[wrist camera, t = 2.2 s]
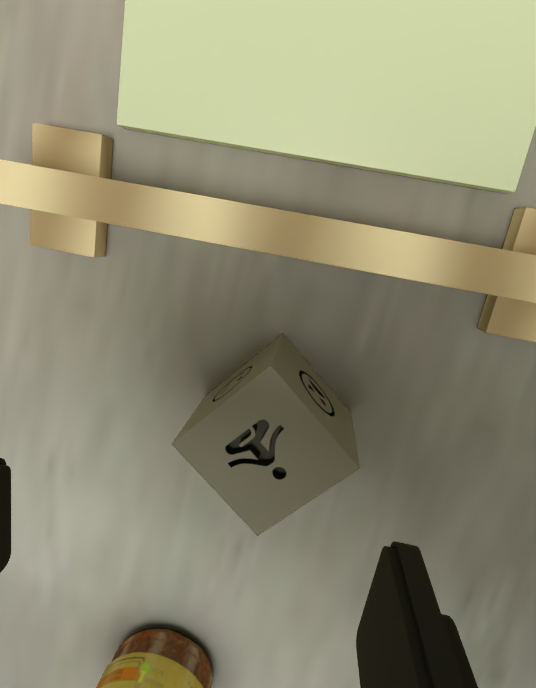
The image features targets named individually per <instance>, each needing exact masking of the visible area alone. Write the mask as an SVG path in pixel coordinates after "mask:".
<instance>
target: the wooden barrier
mask: <svg viewBox="0 0 536 688" xmlns="http://www.w3.org/2000/svg"><path fill="white" fill-rule="evenodd" d="M112 150H113V139H111V138H108V137H106V136H104V135H101V134H96V133H90V132H84V131H78V130H72V129H67V128H61V127H55V126H49V125H43V124H37V123H33V134H32V165H28V164H22V163H17V162H11V161H5V160H0V203H1V204H7V205H12V206H17V207H23V208H28V209H31V226H30V245H33V246H38V247H43V248H49V249H54V250H59V251H64V252H69V253H75V254H80V255H85V256H90V257H101V256H105V251H106V237H107V223H109V224H114V225H119V226H125V227H130V228H135V229H141V230H146V231H152V232H157V233H162V234H168V235H173V236H178V237H184V238H189V239H194V240H200V241H205V242H211V243H216V244H221V245H227V246H232V247H237V248H243V249H248V250H253V251H259V252H264V253H270V254H275V255H280V256H286V257H291V258H296V259H302V260H307V261H312V262H318V263H323V264H329V265H334V266H339V267H345V268H350V269H355V270H361V271H366V272H372V273H377V274H382V275H388V276H393V277H398V278H404V279H409V280H414V281H420V282H425V283H431V284H436V285H441V286H447V287H452V288H457V289H463V290H468V291H473V292H479V293H484V294H488V295H487V298H486V302H485V305H484V308H483V311H482V314H481V317H480V320H479V324H478V327H477V328H479V329H481V330H482V331H484V332H485V333H490V334H495V335H500V336H506V337H511V338H516V339H521V340H526V341H532V342H536V209H533V208H527V207H525V208H517V209H515V210H514V213H513V216H512V219H511V223H510V226H509V229H508V232H507V235H506V238H505V242H504V245H503V248H502V249H498V248H492V247H486V246H481V245H475V244H470V243H464V242H458V241H453V240H447V239H442V238H436V237H430V236H425V235H419V234H414V233H408V232H403V231H397V230H391V229H386V228H380V227H375V226H369V225H363V224H358V223H352V222H347V221H341V220H335V219H330V218H324V217H319V216H313V215H307V214H302V213H296V212H291V211H285V210H280V209H274V208H268V207H263V206H257V205H252V204H246V203H240V202H235V201H229V200H224V199H218V198H212V197H207V196H201V195H196V194H190V193H184V192H179V191H173V190H168V189H162V188H156V187H151V186H145V185H140V184H134V183H129V182H123V181H117V180H112V179H111V165H112Z"/></svg>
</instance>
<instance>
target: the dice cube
mask: <svg viewBox="0 0 536 688" xmlns="http://www.w3.org/2000/svg"><path fill="white" fill-rule="evenodd" d="M172 445H173V446H174V447H175V448H176V449H177V450H178V451H179V452H180V454H181V455H182V456H183V457H184V458H185V459H186V460H187V461H188V462H189V463H190V464H191V465H192V466H193V467H194V469H195V470H196V471H197V472H198V473H199V474H200V475H201V476H202V477H203V478H204V479H205V480H206V481H207V482H208V483H209V485H210V486H211V487H212V488H213V489H214V490H215V491H216V492H217V493H218V494H219V495H220V496H221V497H222V498H223V500H224V501H225V502H226V503H227V504H228V505H229V506H230V507H231V508H232V509H233V510H234V511H235V512H236V513H237V515H238V516H239V517H240V518H241V519H242V520H243V521H244V522H245V523H246V524H247V525H248V526H249V527H250V528H251V530H252V531H253V532H254V533H255V534H256V535H257V536H258V535H260V534H261V533H263V532H264V531H266V530H267V529H269V528H270V527H272V526H273V525H275V524H276V523H278V522H279V521H281V520H282V519H284V518H285V517H287V516H288V515H290V514H291V513H293V512H294V511H296V510H297V509H299V508H300V507H302V506H303V505H305V504H306V503H308V502H309V501H311V500H312V499H314V498H315V497H317V496H318V495H320V494H321V493H323V492H324V491H326V490H327V489H329V488H330V487H332V486H333V485H335V484H336V483H338V482H339V481H341V480H342V479H344V478H345V477H347V476H348V475H350V474H351V473H353V472H354V471H356V470H357V469H359V468H360V467H359V461H358V454H357V448H356V442H355V436H354V430H353V424H352V418H351V412H350V411H349V410H348V409H347V408H346V407H345V405H344V404H343V403H342V402H341V401H340V400H339V398H338V397H337V396H336V395H335V394H334V392H333V391H332V390H331V389H330V388H329V387H328V385H327V384H326V383H325V382H324V381H323V380H322V378H321V377H320V376H319V375H318V374H317V373H316V371H315V370H314V369H313V368H312V367H311V366H310V364H309V363H308V362H307V361H306V360H305V359H304V357H303V356H302V355H301V354H300V353H299V352H298V350H297V349H296V348H295V347H294V346H293V345H292V343H291V342H290V341H289V340H288V339H287V338H286V336H285V335H284V334H283V333H282V334H281V335H280V336H279V337H278V338H276V339H275V340H274V341H273V342H271V343H270V344H269V345H268V346H266V347H265V348H264V349H263V350H262V351H260V352H259V353H258V354H257V355H255V356H254V357H253V358H252V359H250V360H249V361H248V362H247V363H245V364H244V365H243V366H242V367H241V368H239V369H238V370H237V371H236V372H234V373H233V374H232V375H231V376H229V377H228V378H227V379H226V380H225V381H223V382H222V383H221V384H220V385H218V386H217V387H216V388H215V389H213V390H212V391H211V392H210V393H208V394H207V395H206V396H205V397H204V399H203V400H202V402H201V403H200V404H199V406H198V407H197V409H196V410H195V412H194V413H193V414H192V416H191V417H190V419H189V420H188V422H187V423H186V424H185V426H184V427H183V429H182V430H181V432H180V433H179V434H178V436H177V437H176V439H175V440H174V441H173V443H172Z"/></svg>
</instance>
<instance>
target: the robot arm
mask: <svg viewBox="0 0 536 688" xmlns="http://www.w3.org/2000/svg"><path fill="white" fill-rule="evenodd" d="M10 555H11V469H10V467H9V466H6V462H5V460H4V459H2V458H0V572H1V571H2V570H3V569H4V568H5V566H6V565H7V563H8V561H9V558H10ZM356 648H357V658H358V667H359V677H360V686H361V688H478V687H477V684H476V681H475V678H474V675H473V673H472V670H471V667H470V664H469V661H468V659H467V656H466V653H465V650H464V647H463V645H462V642H461V639H460V636H459V633H458V631H457V628H456V626H455V623H454V621H453V620H452V618H451V617H450V616H447V615H442V614H441V612H440V609H439V606H438V603H437V600H436V597H435V594H434V591H433V588H432V585H431V582H430V579H429V576H428V573H427V570H426V567H425V564H424V561H423V558H422V555H421V552H420V550H419V548H418V547H417V546H414V545H409V544H404V543H399V542H392V544H391V546H390V547H387V546H384V547H383V549H382V552H381V555H380V558H379V562H378V565H377V568H376V571H375V575H374V578H373V581H372V584H371V588H370V591H369V594H368V597H367V601H366V604H365V607H364V611H363V614H362V617H361V620H360V624H359V627H358V631H357V639H356Z"/></svg>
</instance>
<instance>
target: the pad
mask: <svg viewBox="0 0 536 688" xmlns="http://www.w3.org/2000/svg"><path fill="white" fill-rule="evenodd" d="M117 125H119V126H121V127H123V128H124V129H129V130H135V131H140V132H146V133H152V134H158V135H164V136H170V137H176V138H182V139H187V140H193V141H199V142H205V143H211V144H217V145H223V146H229V147H235V148H240V149H246V150H252V151H258V152H264V153H270V154H276V155H282V156H288V157H293V158H299V159H305V160H311V161H317V162H323V163H329V164H335V165H341V166H346V167H352V168H358V169H364V170H370V171H376V172H382V173H388V174H394V175H399V176H405V177H411V178H417V179H423V180H429V181H435V182H441V183H447V184H452V185H458V186H464V187H470V188H476V189H482V190H488V191H494V192H499V193H505V194H507V193H512V192H515V190H516V187H517V184H518V181H519V177H520V174H521V171H522V168H523V165H524V162H525V158H526V155H527V152H528V149H529V146H530V142H531V139H532V136H533V133H534V130H535V126H536V0H125V13H124V27H123V42H122V56H121V70H120V84H119V98H118V113H117Z"/></svg>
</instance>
